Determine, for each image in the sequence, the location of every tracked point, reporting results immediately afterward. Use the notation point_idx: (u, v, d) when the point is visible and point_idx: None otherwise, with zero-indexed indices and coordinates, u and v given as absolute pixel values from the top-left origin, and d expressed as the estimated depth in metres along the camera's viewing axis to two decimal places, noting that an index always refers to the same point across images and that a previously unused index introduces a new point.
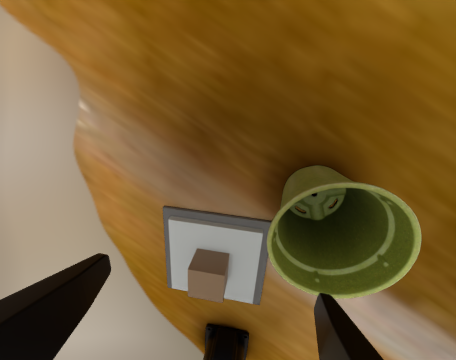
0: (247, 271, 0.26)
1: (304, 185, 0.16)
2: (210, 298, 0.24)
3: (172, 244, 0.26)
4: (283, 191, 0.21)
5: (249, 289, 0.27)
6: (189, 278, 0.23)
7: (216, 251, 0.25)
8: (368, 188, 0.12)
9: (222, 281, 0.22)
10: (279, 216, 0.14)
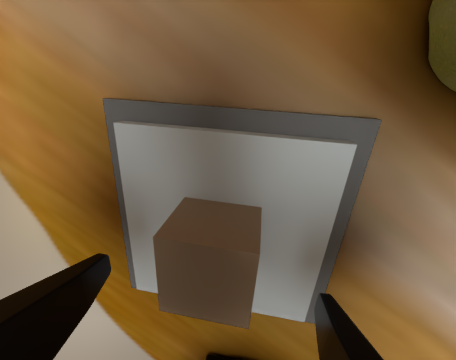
0: (301, 250, 0.11)
1: None
2: (217, 317, 0.09)
3: (129, 190, 0.11)
4: None
5: (301, 292, 0.12)
6: (159, 263, 0.08)
7: (231, 203, 0.11)
8: None
9: (252, 271, 0.08)
10: None
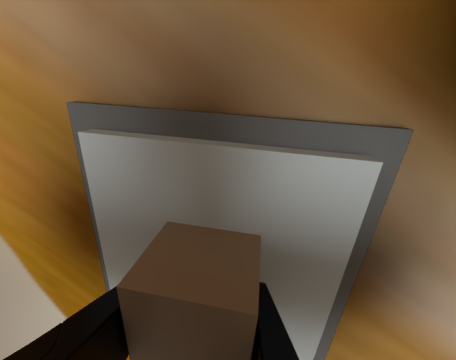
0: (309, 285, 0.09)
1: None
2: None
3: (101, 212, 0.10)
4: None
5: (308, 332, 0.10)
6: (128, 318, 0.06)
7: (223, 229, 0.09)
8: None
9: (248, 334, 0.06)
10: None
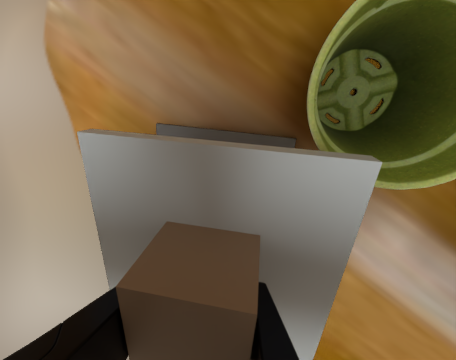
0: (308, 285, 0.09)
1: (360, 25, 0.11)
2: None
3: (100, 212, 0.10)
4: None
5: (307, 332, 0.10)
6: (127, 318, 0.06)
7: (223, 229, 0.09)
8: None
9: (247, 333, 0.06)
10: (332, 38, 0.09)
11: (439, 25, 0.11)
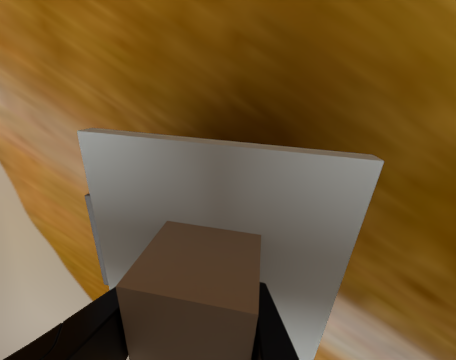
0: (309, 285, 0.09)
1: None
2: None
3: (100, 211, 0.10)
4: None
5: (308, 332, 0.10)
6: (127, 318, 0.06)
7: (223, 229, 0.09)
8: None
9: (248, 333, 0.06)
10: None
11: None
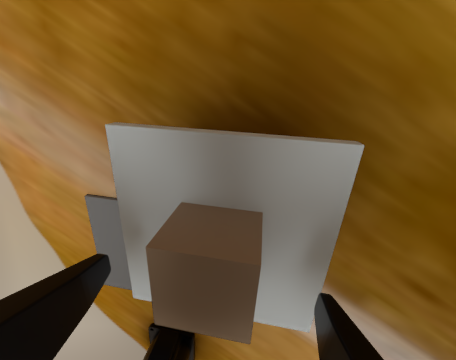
0: (305, 257, 0.10)
1: None
2: (215, 331, 0.08)
3: (123, 195, 0.11)
4: None
5: (305, 301, 0.12)
6: (153, 275, 0.08)
7: (230, 208, 0.10)
8: None
9: (253, 283, 0.07)
10: None
11: None
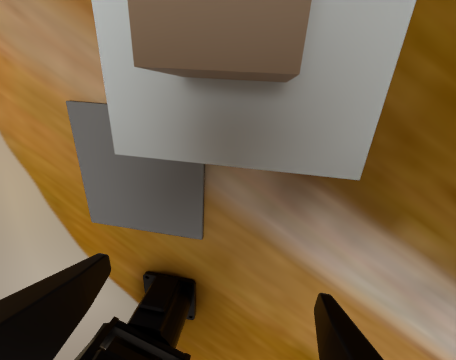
0: (369, 24, 0.07)
1: None
2: (239, 54, 0.05)
3: None
4: None
5: (359, 119, 0.08)
6: None
7: None
8: None
9: None
10: None
11: None
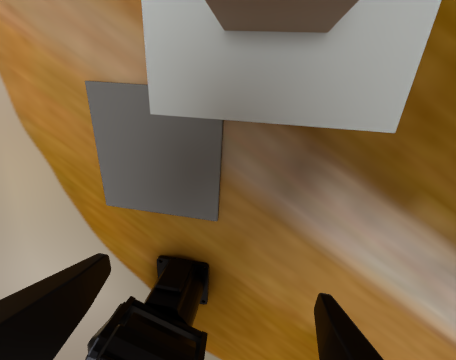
0: None
1: None
2: None
3: None
4: None
5: (398, 69, 0.08)
6: None
7: None
8: None
9: None
10: None
11: None
